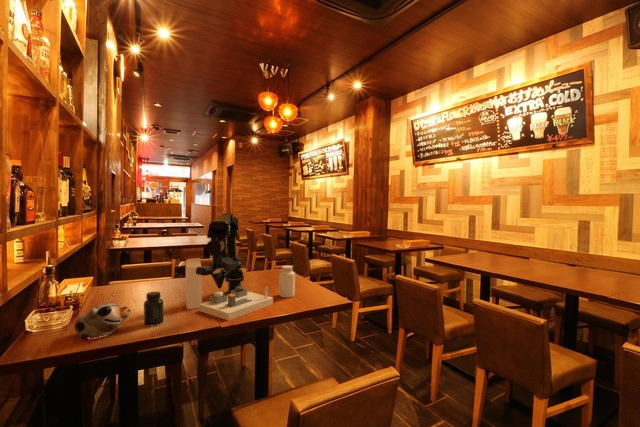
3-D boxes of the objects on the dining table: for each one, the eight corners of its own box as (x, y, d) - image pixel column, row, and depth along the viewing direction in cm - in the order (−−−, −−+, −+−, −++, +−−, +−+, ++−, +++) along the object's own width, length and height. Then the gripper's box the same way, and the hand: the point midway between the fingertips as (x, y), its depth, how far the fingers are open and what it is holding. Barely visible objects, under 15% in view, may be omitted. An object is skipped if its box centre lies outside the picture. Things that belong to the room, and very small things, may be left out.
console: (200, 311, 142) (199, 292, 142) (245, 296, 164) (245, 280, 163) (228, 320, 131) (228, 300, 131) (273, 303, 153) (273, 286, 152)
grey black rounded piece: (114, 323, 128) (130, 293, 127) (122, 343, 120) (138, 312, 119) (69, 322, 116) (86, 290, 115) (74, 346, 109) (92, 310, 108)
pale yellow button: (212, 297, 145) (212, 293, 145) (219, 295, 148) (219, 291, 148) (217, 298, 143) (217, 294, 143) (224, 296, 146) (224, 292, 146)
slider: (227, 305, 141) (227, 294, 140) (231, 303, 142) (231, 293, 142) (231, 306, 139) (231, 295, 139) (235, 304, 141) (235, 294, 141)
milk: (201, 307, 147) (201, 259, 146) (187, 309, 144) (187, 260, 143) (199, 303, 152) (199, 257, 151) (185, 305, 149) (185, 258, 148)
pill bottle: (292, 298, 161) (292, 268, 161) (276, 297, 163) (277, 267, 162) (296, 293, 169) (296, 265, 169) (281, 292, 171) (282, 264, 170)
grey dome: (233, 291, 155) (233, 287, 155) (239, 289, 158) (239, 285, 158) (238, 292, 153) (238, 288, 153) (244, 290, 156) (244, 286, 156)
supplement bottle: (141, 323, 128) (141, 293, 128) (160, 318, 133) (159, 289, 133) (147, 328, 123) (146, 296, 123) (166, 323, 128) (165, 293, 128)
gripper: (212, 256, 122) (212, 297, 123) (249, 249, 138) (249, 286, 138) (194, 253, 129) (195, 292, 129) (232, 247, 144) (232, 282, 145)
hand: (219, 288), depth 135 cm, fingers closed
